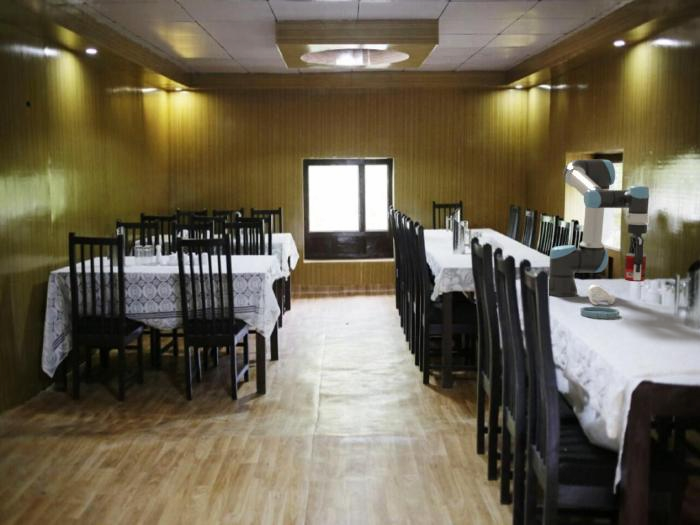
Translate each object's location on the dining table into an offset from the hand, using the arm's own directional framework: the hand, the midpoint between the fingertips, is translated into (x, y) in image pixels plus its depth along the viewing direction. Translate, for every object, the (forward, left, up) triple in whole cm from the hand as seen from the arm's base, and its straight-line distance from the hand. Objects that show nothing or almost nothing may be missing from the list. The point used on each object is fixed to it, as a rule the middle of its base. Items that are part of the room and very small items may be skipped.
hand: (634, 278), depth 321 cm
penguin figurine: (-23, -9, -15) cm, 29 cm away
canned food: (0, 0, -1) cm, 1 cm away
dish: (+5, -14, -15) cm, 21 cm away
